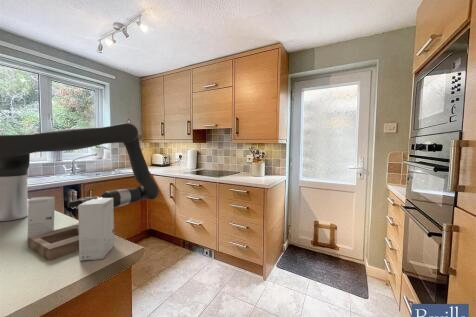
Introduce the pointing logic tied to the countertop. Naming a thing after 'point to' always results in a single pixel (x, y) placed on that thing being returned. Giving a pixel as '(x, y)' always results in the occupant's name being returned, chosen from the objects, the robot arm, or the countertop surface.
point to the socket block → (55, 242)
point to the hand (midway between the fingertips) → (73, 206)
